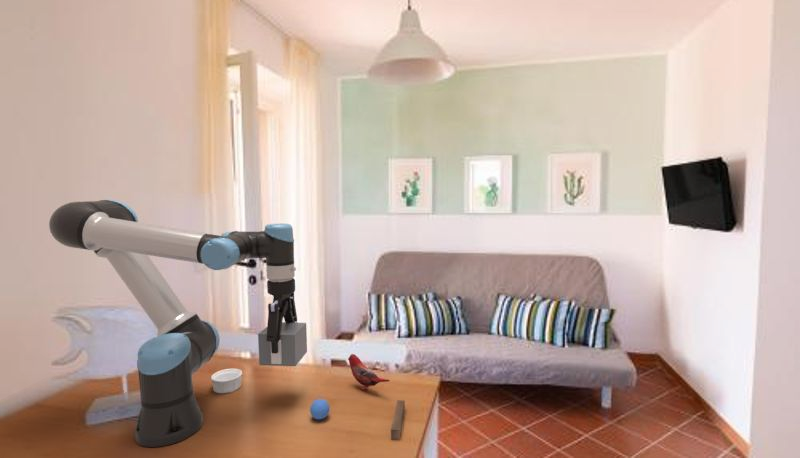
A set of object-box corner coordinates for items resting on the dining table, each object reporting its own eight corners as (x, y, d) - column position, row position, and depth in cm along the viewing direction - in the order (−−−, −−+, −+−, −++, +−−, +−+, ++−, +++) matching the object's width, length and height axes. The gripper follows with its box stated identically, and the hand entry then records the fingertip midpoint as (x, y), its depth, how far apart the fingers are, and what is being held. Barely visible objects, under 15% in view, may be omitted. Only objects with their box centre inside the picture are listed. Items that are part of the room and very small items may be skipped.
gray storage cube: (259, 365, 115) (258, 334, 114) (273, 350, 125) (272, 322, 124) (295, 366, 114) (294, 334, 113) (307, 351, 124) (306, 322, 123)
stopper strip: (391, 439, 101) (390, 429, 101) (397, 408, 115) (397, 400, 115) (399, 439, 101) (399, 429, 101) (404, 409, 115) (404, 400, 115)
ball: (308, 422, 109) (307, 404, 109) (314, 412, 114) (313, 395, 114) (326, 423, 109) (326, 405, 108) (331, 413, 114) (331, 395, 113)
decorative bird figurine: (352, 381, 132) (351, 350, 131) (393, 399, 120) (392, 365, 119) (345, 384, 130) (344, 353, 129) (386, 403, 118) (386, 369, 117)
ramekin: (248, 382, 133) (247, 369, 133) (232, 395, 125) (231, 381, 124) (223, 380, 135) (222, 367, 135) (205, 393, 126) (204, 380, 126)
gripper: (278, 288, 106) (282, 373, 108) (306, 270, 128) (308, 341, 130) (250, 288, 106) (253, 372, 109) (282, 270, 129) (285, 340, 131)
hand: (283, 355), depth 119 cm, fingers closed on gray storage cube, 10 cm apart
